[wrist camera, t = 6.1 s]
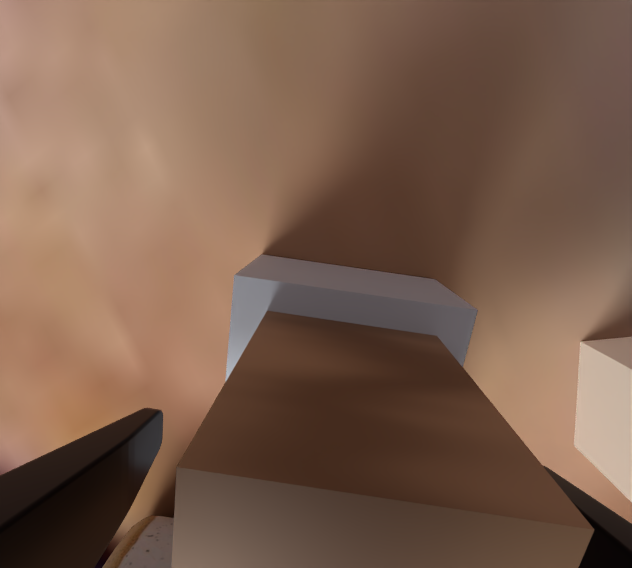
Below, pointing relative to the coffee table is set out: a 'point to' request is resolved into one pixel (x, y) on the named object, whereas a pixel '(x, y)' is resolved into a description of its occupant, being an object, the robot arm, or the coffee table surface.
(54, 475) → the robot arm
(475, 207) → the coffee table surface
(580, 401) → the cream block
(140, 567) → the ceramic mug
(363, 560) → the walnut block
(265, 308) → the light gray block
